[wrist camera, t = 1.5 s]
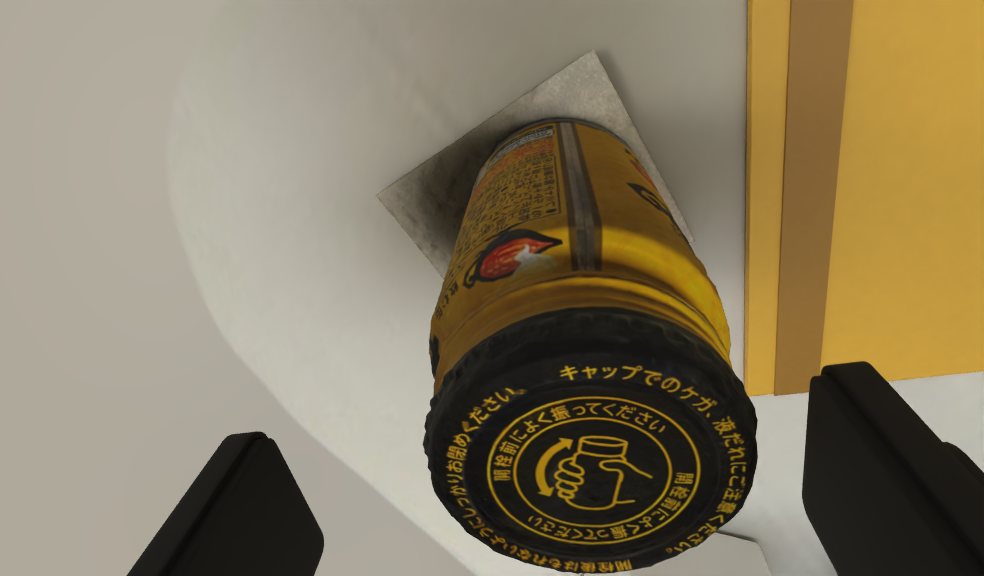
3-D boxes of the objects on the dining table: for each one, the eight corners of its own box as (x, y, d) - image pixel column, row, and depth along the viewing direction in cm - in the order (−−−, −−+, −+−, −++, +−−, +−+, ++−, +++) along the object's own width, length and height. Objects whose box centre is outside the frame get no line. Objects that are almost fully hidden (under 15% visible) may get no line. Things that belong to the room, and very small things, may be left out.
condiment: (693, 237, 19) (887, 545, 8) (492, 340, 22) (449, 669, 11) (592, 47, 16) (692, 153, 6) (378, 191, 19) (180, 441, 8)
